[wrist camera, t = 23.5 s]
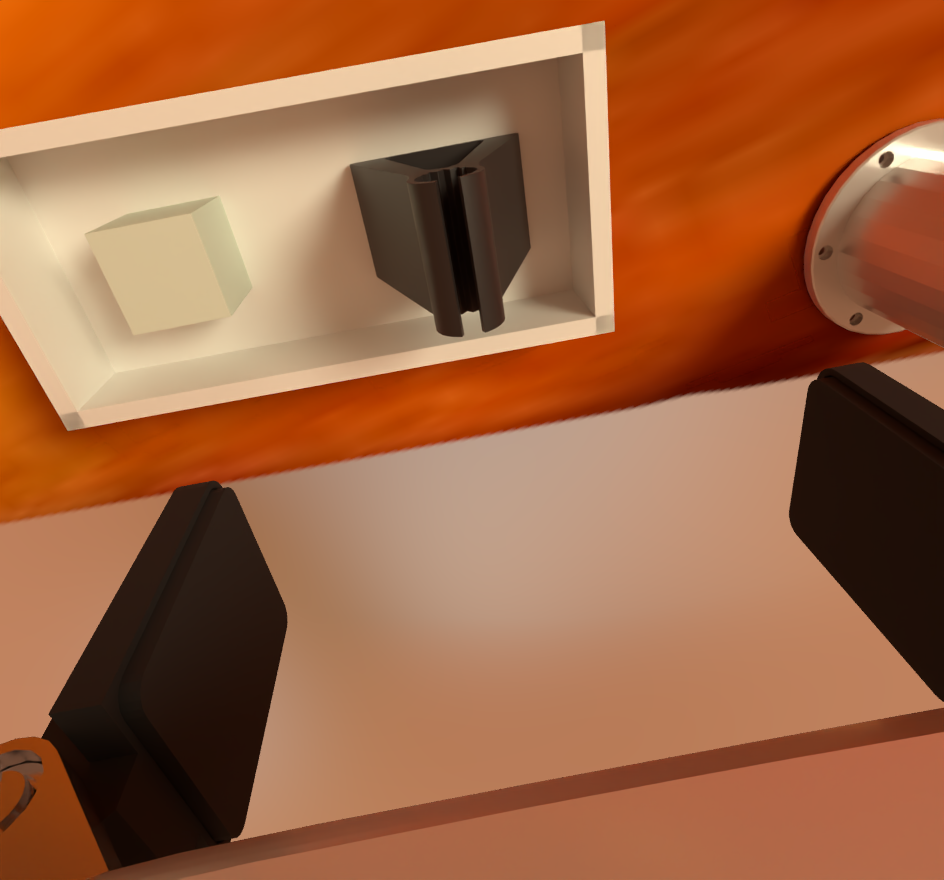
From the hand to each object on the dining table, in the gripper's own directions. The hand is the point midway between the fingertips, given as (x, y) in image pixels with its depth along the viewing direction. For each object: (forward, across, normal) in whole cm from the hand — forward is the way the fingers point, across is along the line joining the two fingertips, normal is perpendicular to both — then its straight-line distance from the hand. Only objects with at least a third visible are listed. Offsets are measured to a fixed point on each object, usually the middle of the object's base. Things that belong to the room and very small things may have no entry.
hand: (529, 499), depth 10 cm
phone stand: (+28, 0, 0) cm, 28 cm away
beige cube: (+27, +14, 0) cm, 31 cm away
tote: (+28, +7, 0) cm, 29 cm away
